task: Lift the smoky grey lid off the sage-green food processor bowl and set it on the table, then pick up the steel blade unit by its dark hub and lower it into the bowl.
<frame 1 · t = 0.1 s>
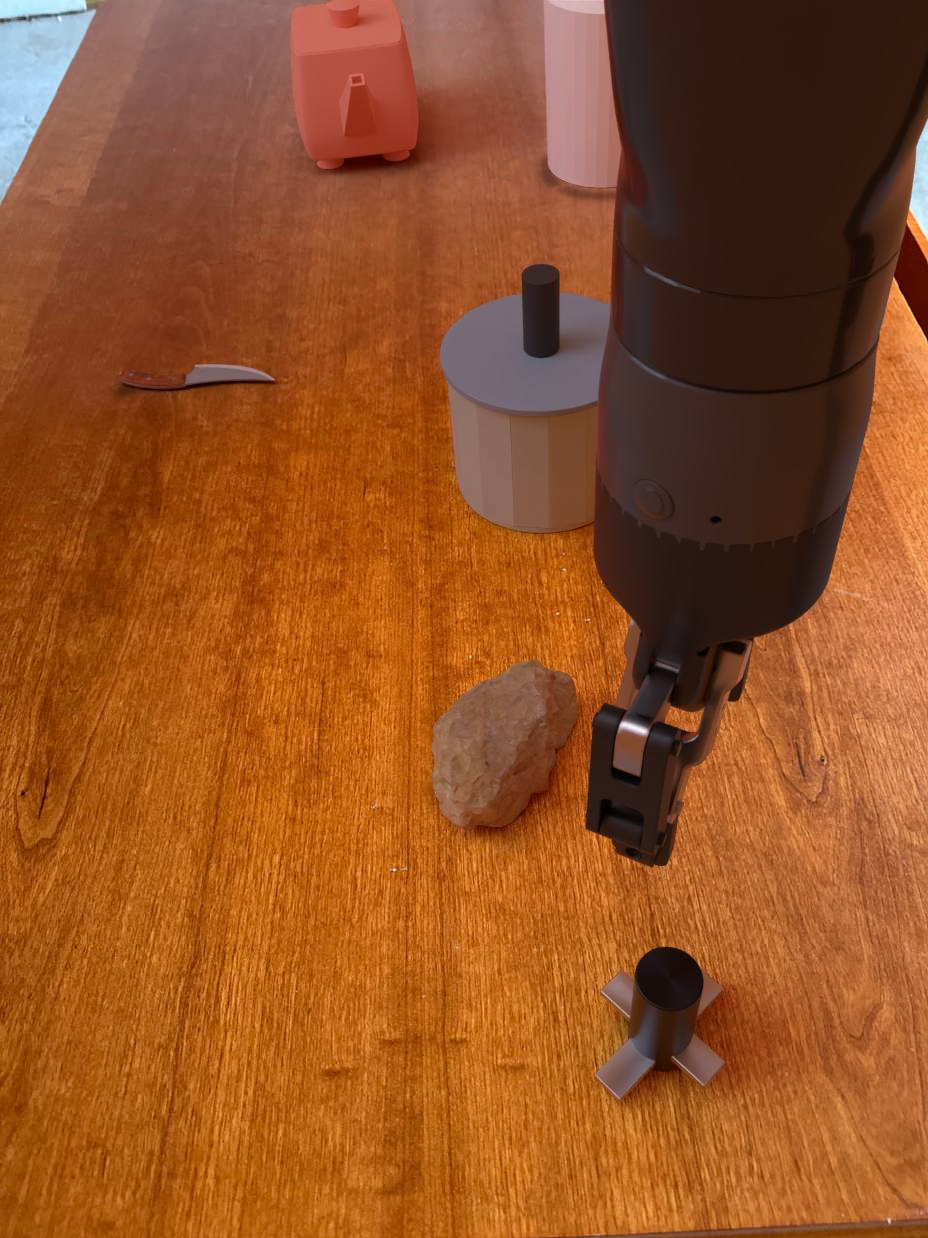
hand: (681, 766, 45), 17 cm above the table, tool pointing down, fingers open, 8 cm apart
blade unit: (659, 1041, 55), on the table
teapot: (361, 147, 122), on the table
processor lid: (541, 353, 76), point 10 cm above the table, touching processor bowl
knife: (199, 379, 95), on the table
stone tool: (506, 762, 67), on the table
bottle: (603, 162, 116), on the table
processor bowl: (543, 474, 84), on the table
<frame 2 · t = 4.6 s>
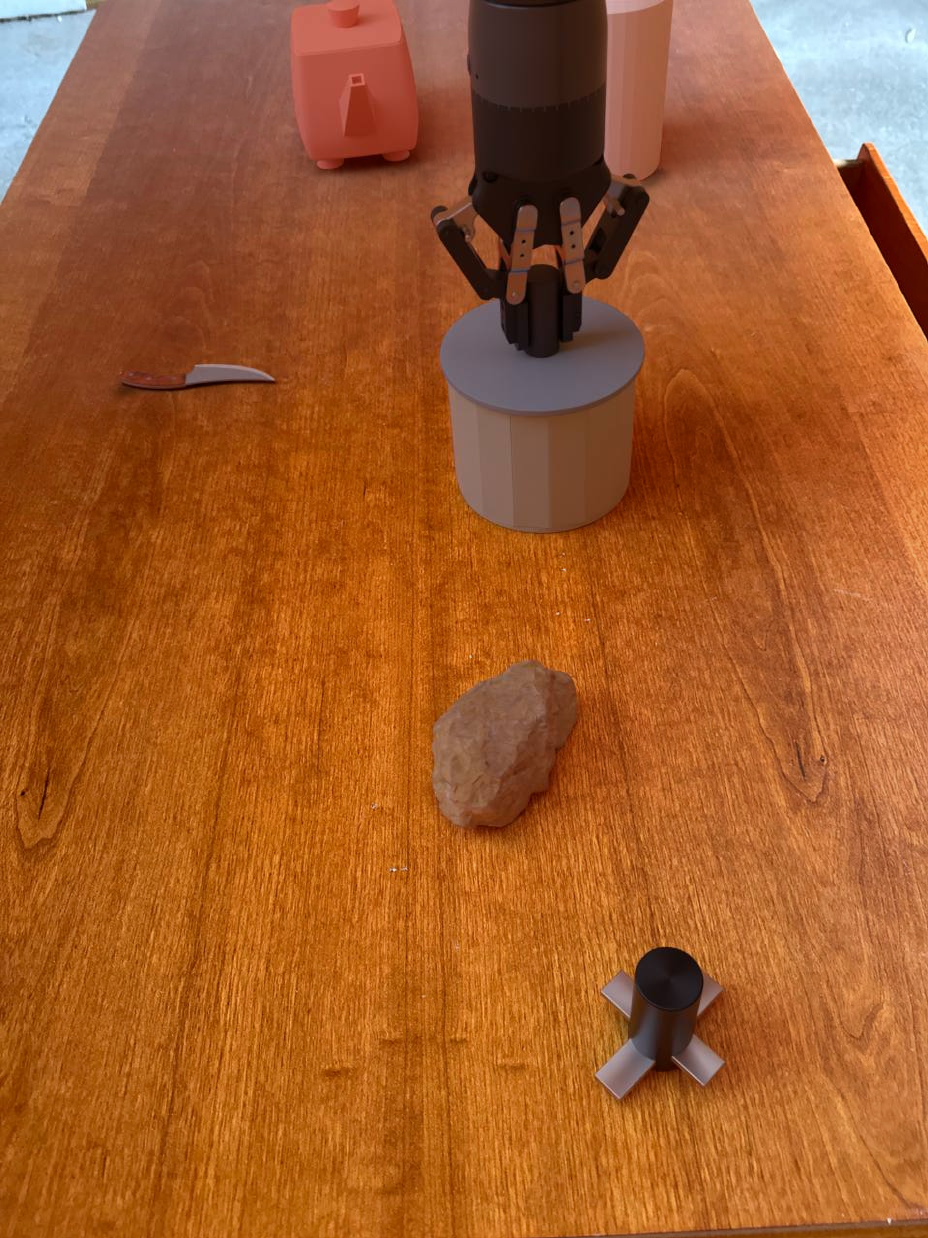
hand: (541, 338, 75), 12 cm above the table, tool pointing down, fingers closed on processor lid, 2 cm apart
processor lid: (541, 353, 76), point 11 cm above the table, touching gripper, processor bowl
everything else where it was.
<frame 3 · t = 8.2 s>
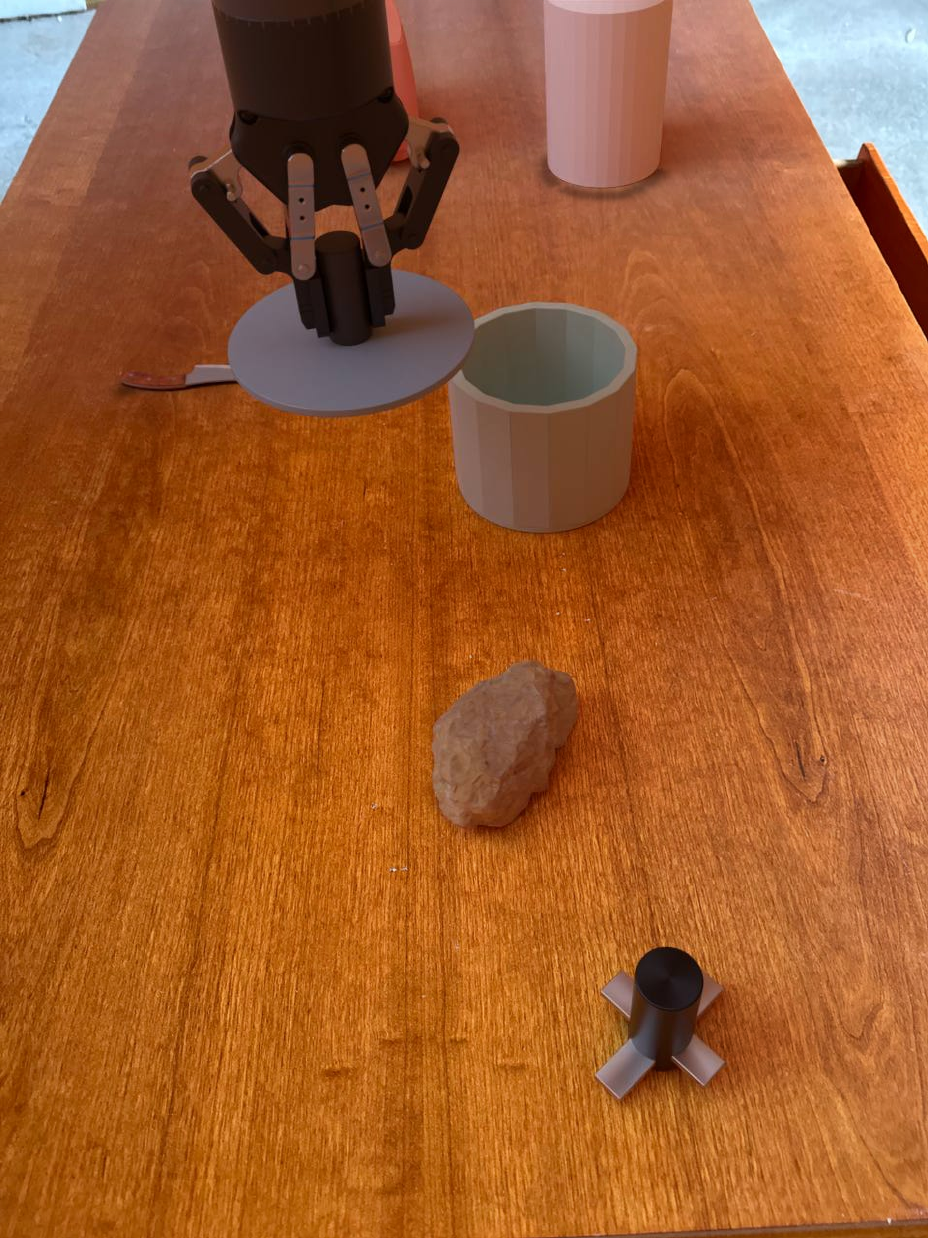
hand: (349, 323, 62), 21 cm above the table, tool pointing down, fingers closed on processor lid, 2 cm apart
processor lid: (352, 341, 63), point 19 cm above the table, touching gripper
everything else where it was.
when the fingers open (2 cm above the table, at t = 11.8 s): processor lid stays where it is, point 1 cm above the table.
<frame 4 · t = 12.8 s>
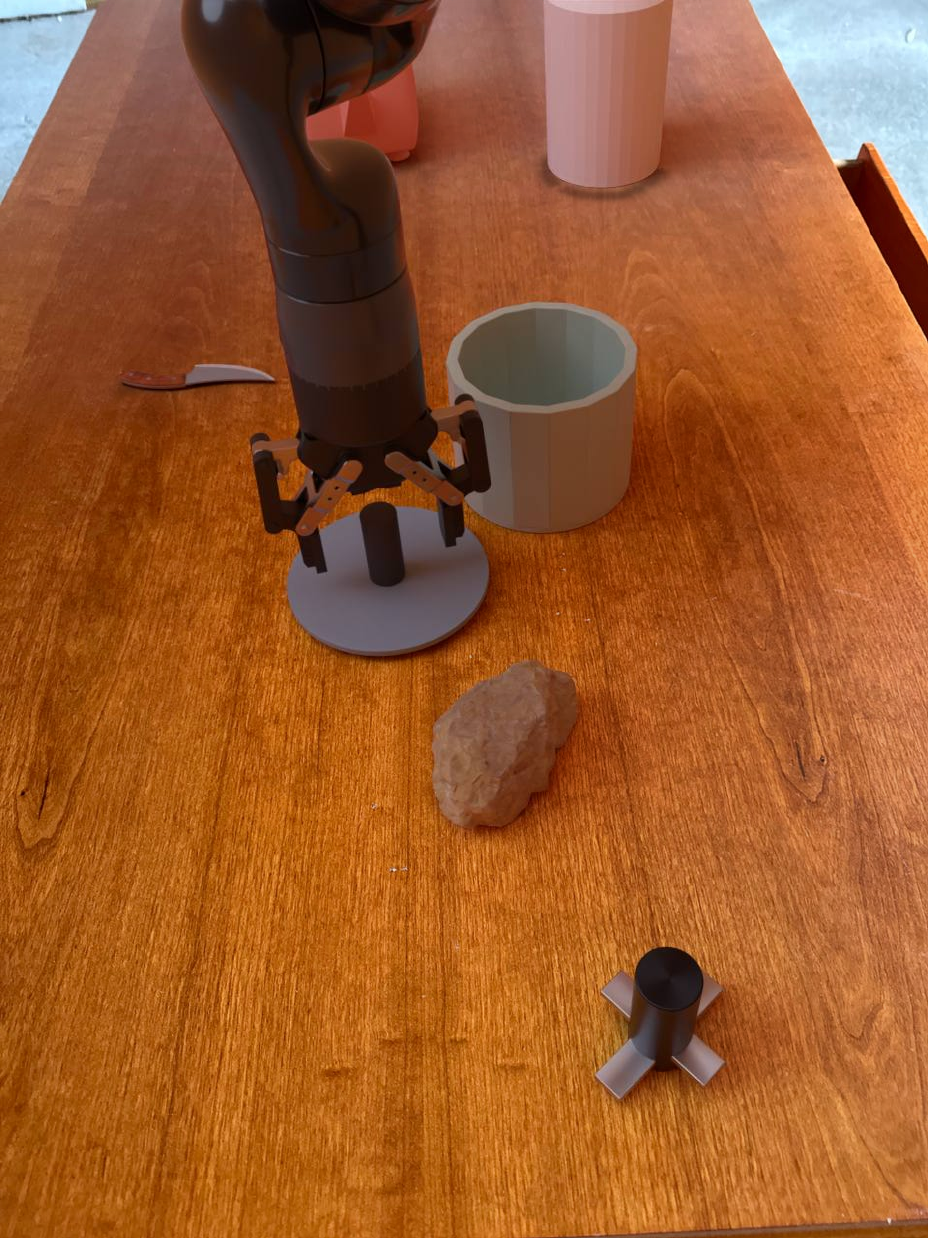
hand: (385, 551, 75), 3 cm above the table, tool pointing down, fingers open, 8 cm apart
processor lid: (388, 579, 77), point 1 cm above the table
everything else where it was.
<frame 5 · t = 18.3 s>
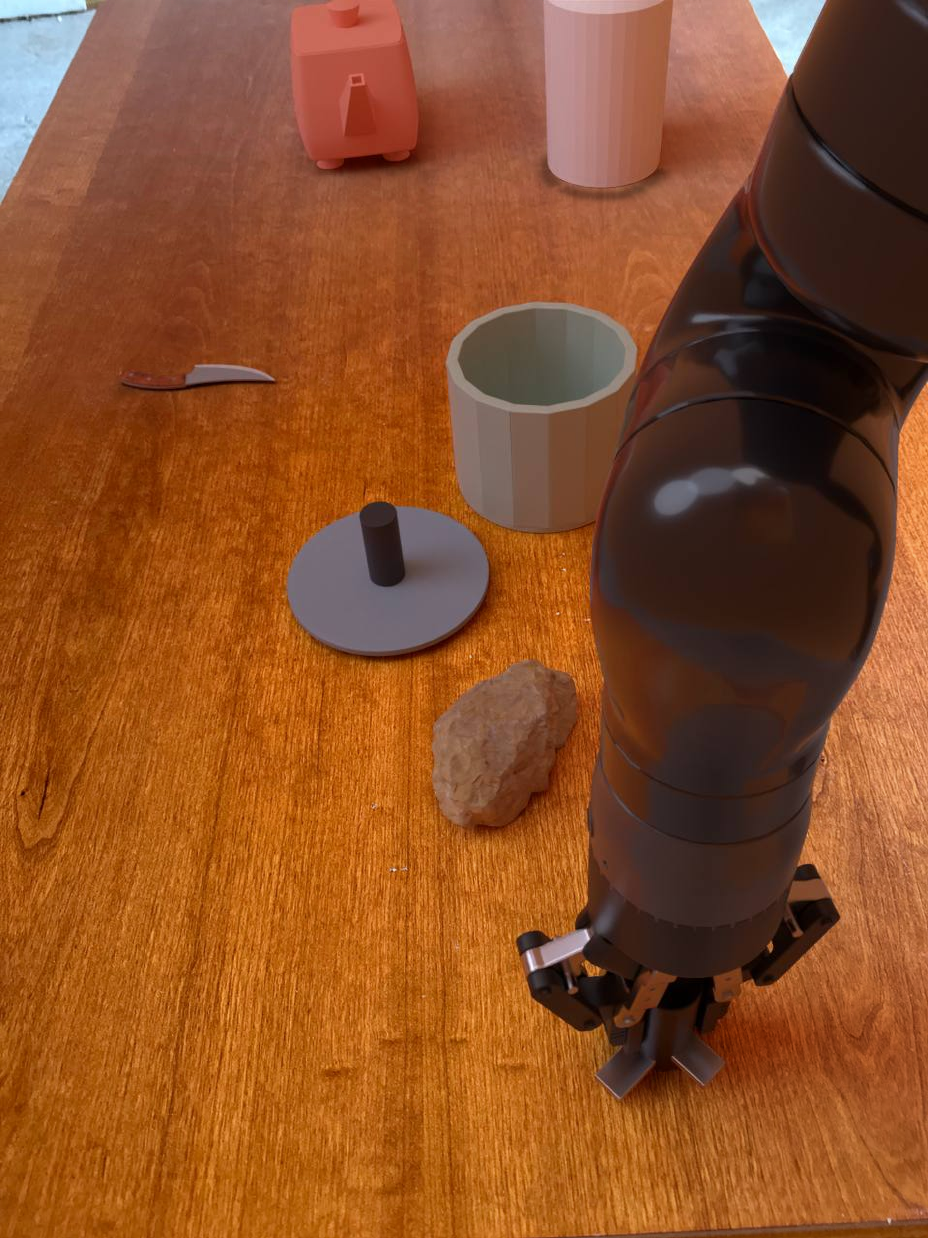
hand: (662, 1022, 54), 2 cm above the table, tool pointing down, fingers closed on blade unit, 3 cm apart
blade unit: (659, 1041, 55), on the table, touching gripper
everything else where it was.
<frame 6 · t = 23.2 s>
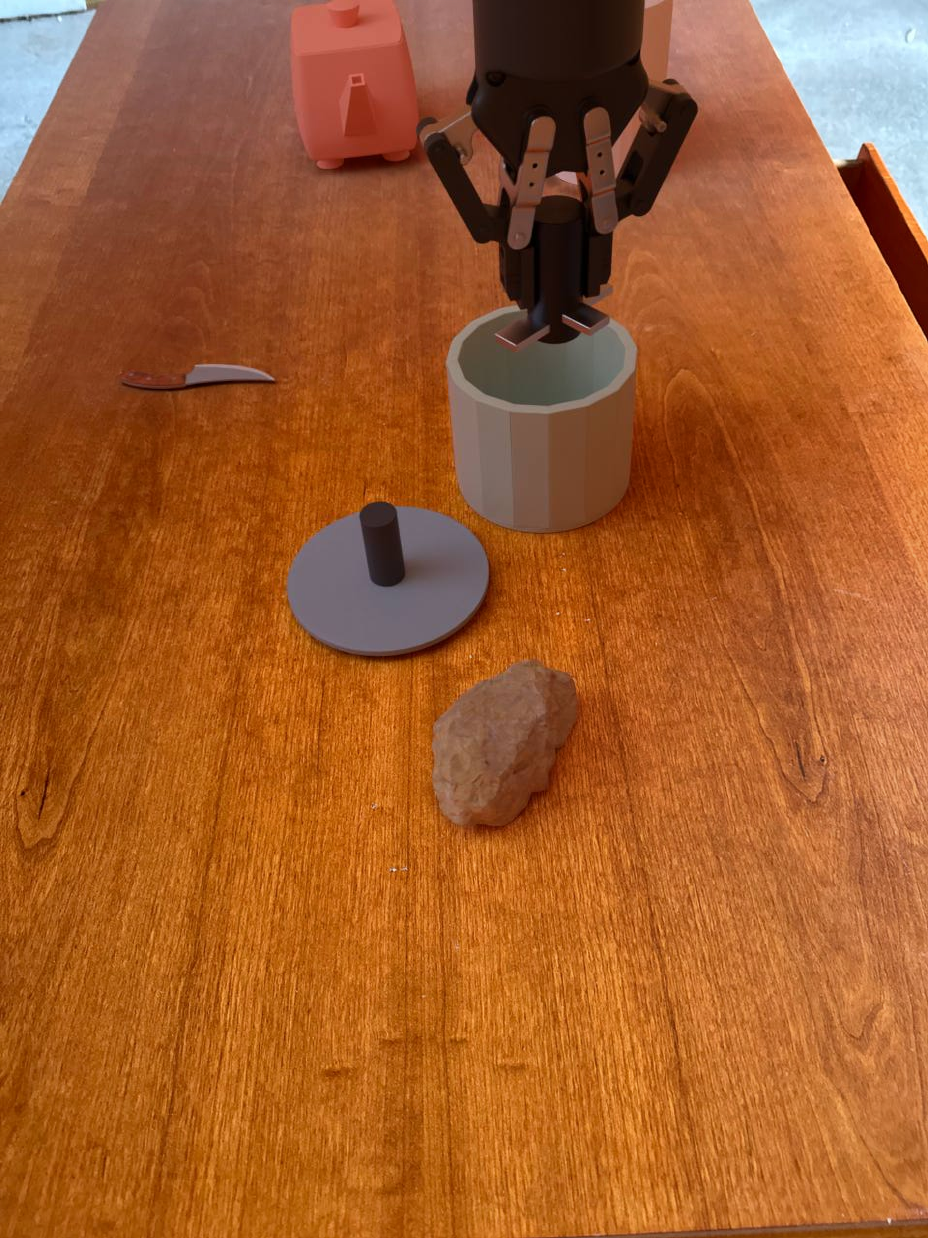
hand: (555, 293, 61), 22 cm above the table, tool pointing down, fingers closed on blade unit, 3 cm apart
blade unit: (554, 328, 62), point 20 cm above the table, touching gripper
everything else where it was.
when the fingers open (8 cm above the table, at t = 28.6 s): blade unit stays where it is, resting on processor bowl.
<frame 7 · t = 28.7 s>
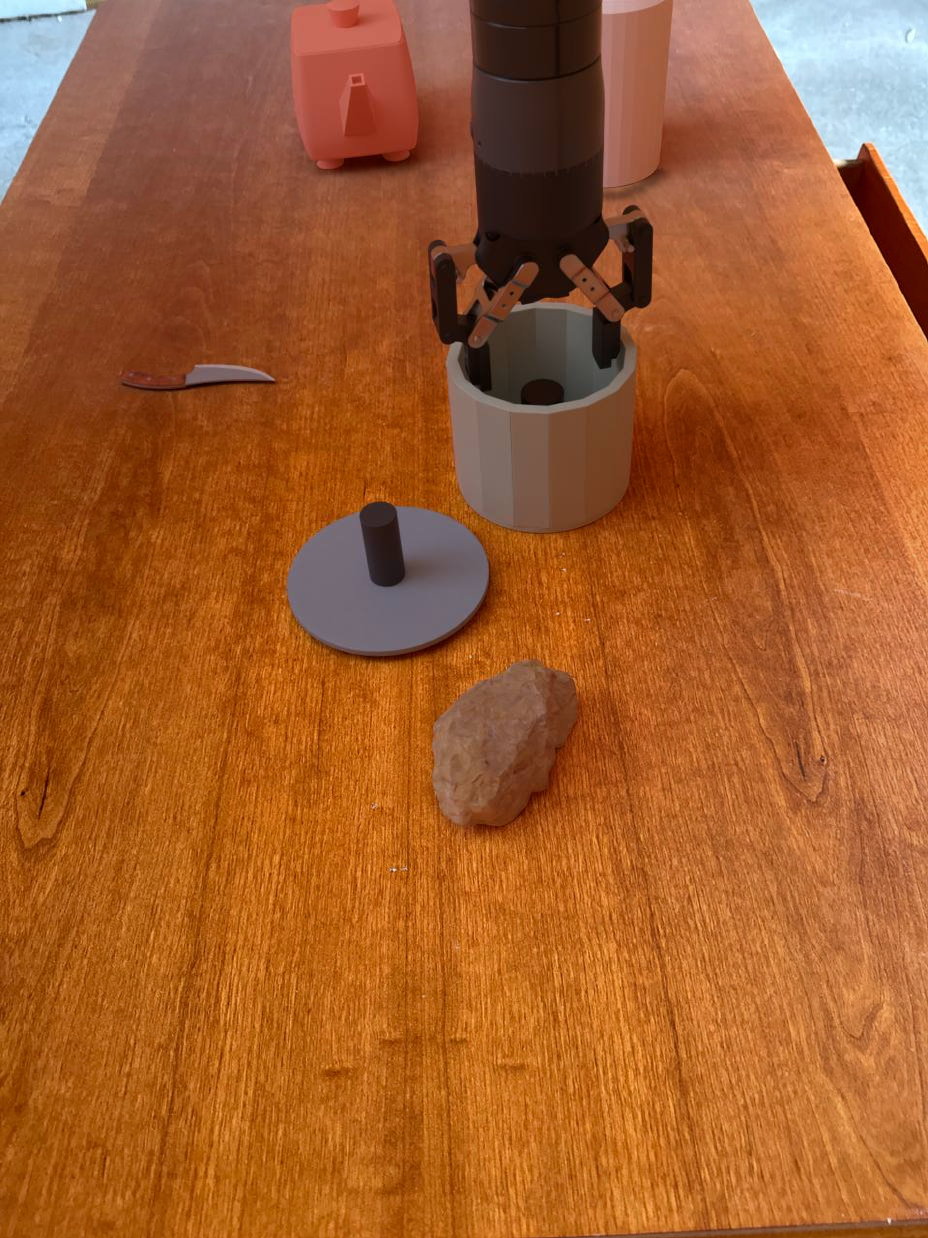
hand: (543, 373, 77), 9 cm above the table, tool pointing down, fingers open, 8 cm apart
blade unit: (543, 469, 84), resting on processor bowl
everything else where it was.
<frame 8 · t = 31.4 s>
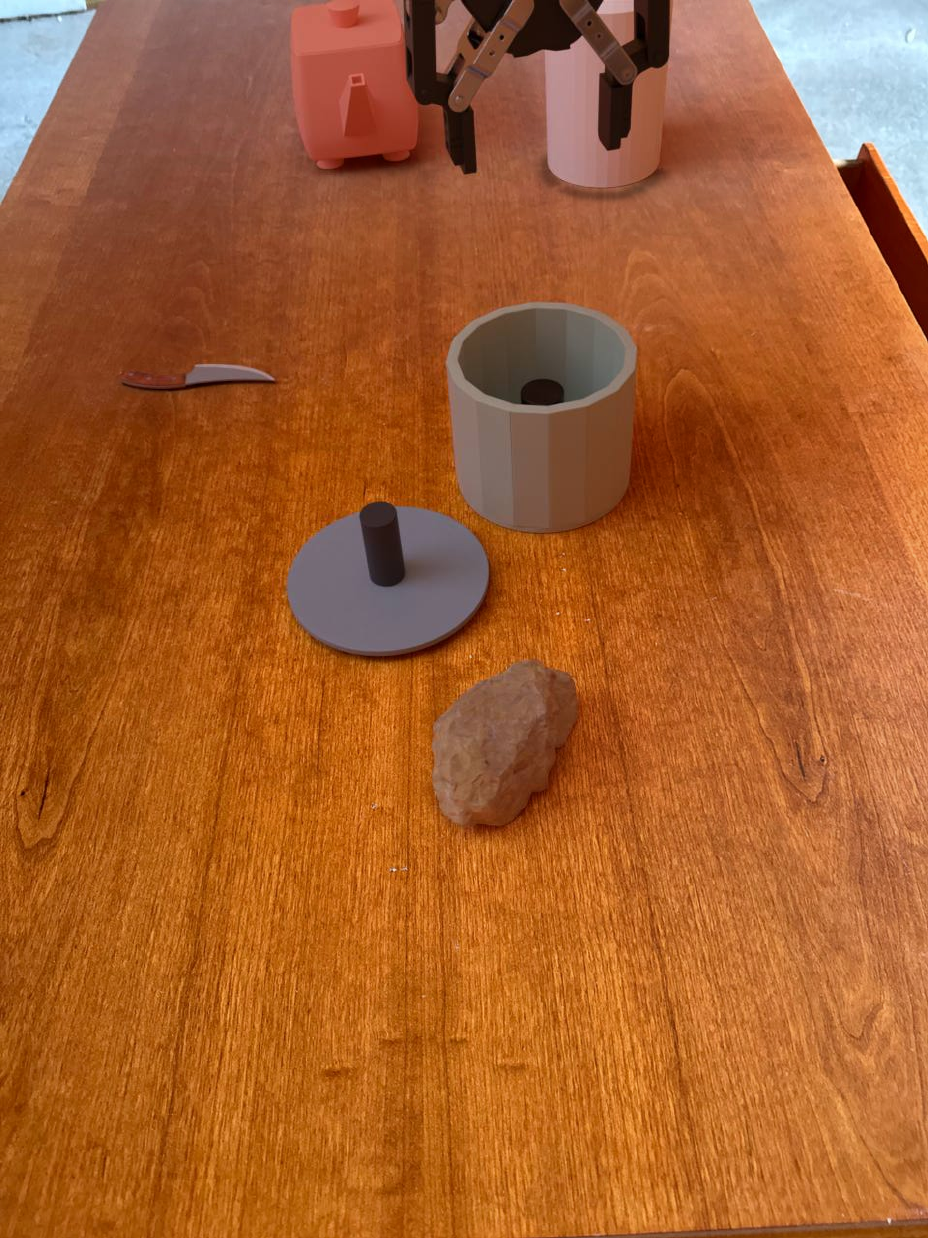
hand: (538, 156, 66), 24 cm above the table, tool pointing down, fingers open, 8 cm apart
nothing on the table moved.
at the end: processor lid inside the target area (0.0 cm from its centre), point 0.6 cm above the table; blade unit inside the target area in the processor bowl (0.0 cm from its centre), point 0.5 cm above the processor bowl's base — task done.
